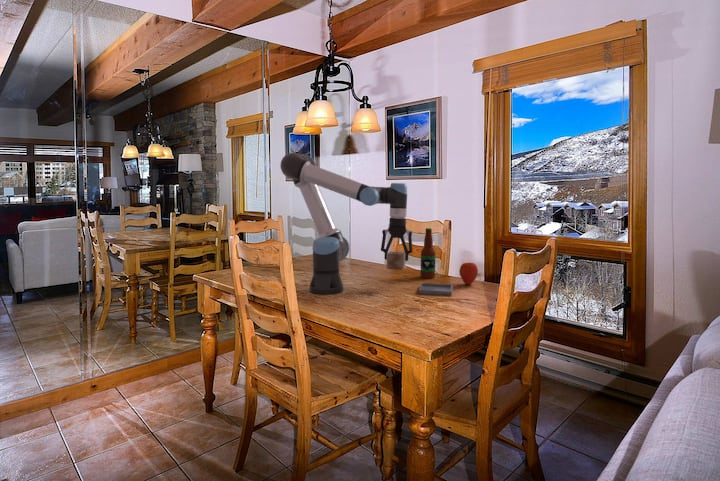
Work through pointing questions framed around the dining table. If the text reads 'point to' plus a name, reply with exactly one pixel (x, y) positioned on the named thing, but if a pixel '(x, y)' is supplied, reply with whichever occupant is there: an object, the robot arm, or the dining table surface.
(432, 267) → the bottle
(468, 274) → the apple
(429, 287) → the slate tray
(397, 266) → the walnut cube
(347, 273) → the dining table surface
